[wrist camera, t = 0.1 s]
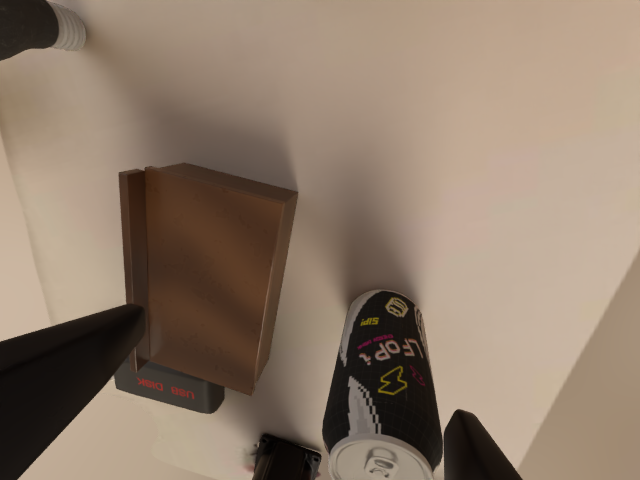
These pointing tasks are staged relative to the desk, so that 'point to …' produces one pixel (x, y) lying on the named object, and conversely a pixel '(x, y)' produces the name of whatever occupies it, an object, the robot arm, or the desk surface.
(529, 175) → the desk surface
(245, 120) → the desk surface
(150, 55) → the desk surface
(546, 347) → the desk surface
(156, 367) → the usb drive
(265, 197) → the step shelf
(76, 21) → the light bulb
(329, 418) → the beverage can
